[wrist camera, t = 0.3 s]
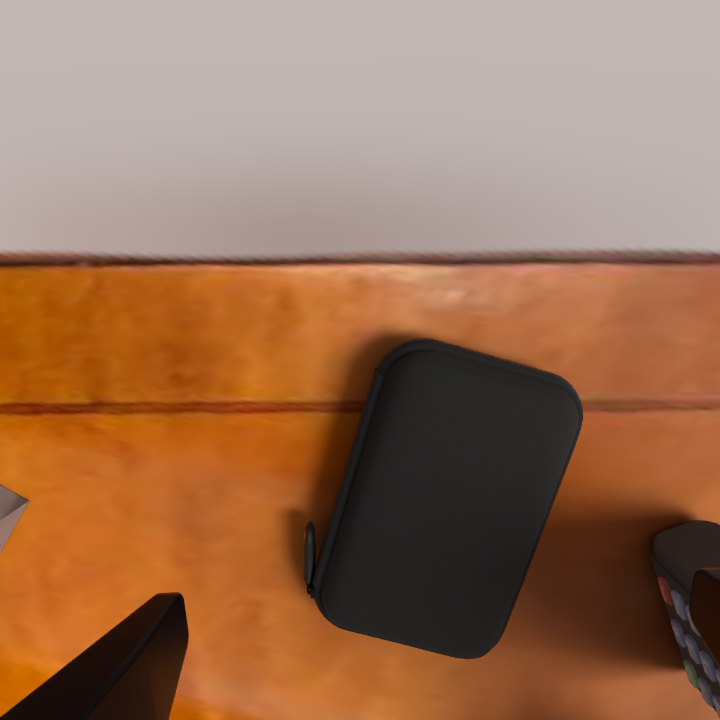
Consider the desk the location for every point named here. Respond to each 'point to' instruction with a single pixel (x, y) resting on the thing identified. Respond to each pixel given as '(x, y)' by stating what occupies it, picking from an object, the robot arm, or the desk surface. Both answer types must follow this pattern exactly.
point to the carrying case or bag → (443, 498)
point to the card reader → (675, 577)
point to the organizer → (9, 512)
